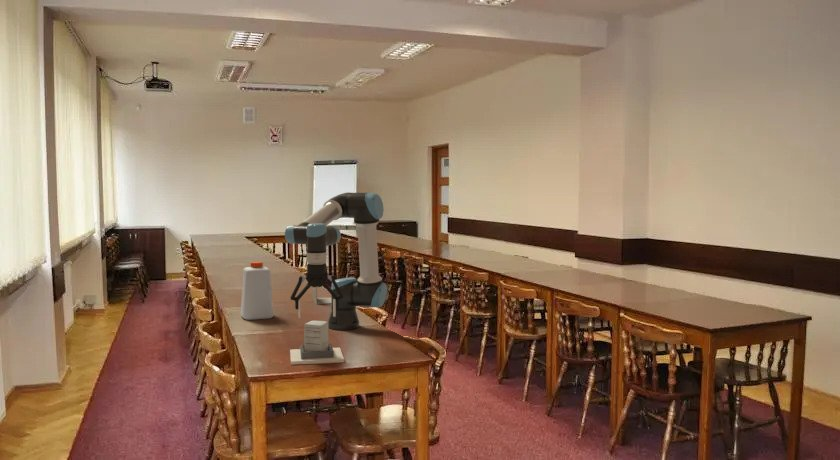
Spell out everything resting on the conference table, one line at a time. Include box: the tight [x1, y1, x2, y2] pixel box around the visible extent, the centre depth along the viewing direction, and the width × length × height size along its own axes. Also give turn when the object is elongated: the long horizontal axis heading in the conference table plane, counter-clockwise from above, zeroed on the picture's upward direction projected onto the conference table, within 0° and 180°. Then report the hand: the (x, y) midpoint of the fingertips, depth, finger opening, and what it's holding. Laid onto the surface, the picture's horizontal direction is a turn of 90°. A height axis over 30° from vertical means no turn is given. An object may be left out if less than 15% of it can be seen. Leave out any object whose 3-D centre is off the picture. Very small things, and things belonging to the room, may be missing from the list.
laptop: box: [312, 287, 331, 305], centre depth 376 cm, size 18×12×13 cm
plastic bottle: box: [240, 261, 274, 321], centre depth 329 cm, size 15×15×28 cm
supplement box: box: [303, 320, 329, 352], centre depth 255 cm, size 7×7×13 cm
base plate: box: [289, 347, 345, 366], centre depth 255 cm, size 18×20×1 cm
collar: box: [299, 343, 334, 359], centre depth 255 cm, size 12×12×2 cm
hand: (317, 316), depth 255 cm, fingers open, 13 cm apart
